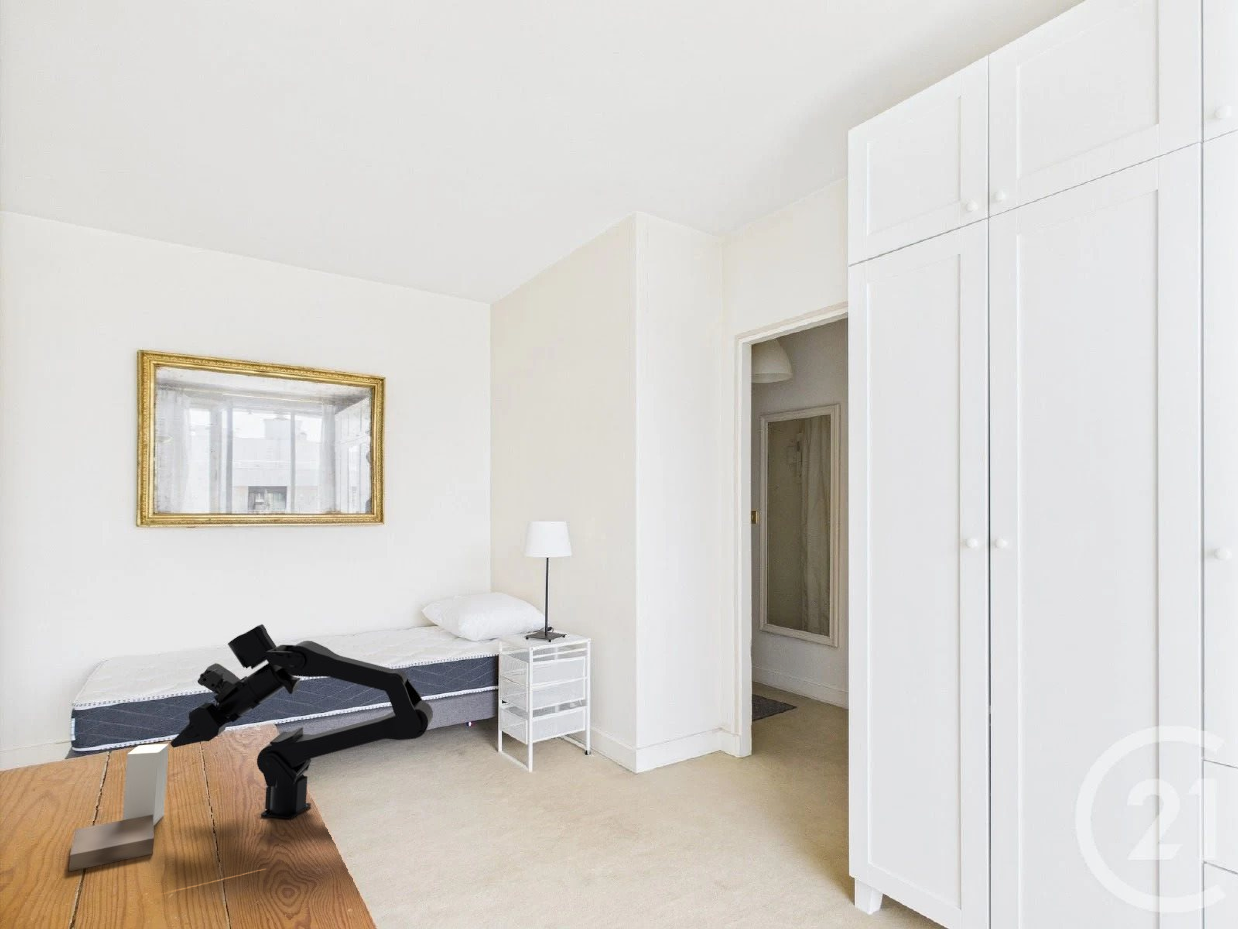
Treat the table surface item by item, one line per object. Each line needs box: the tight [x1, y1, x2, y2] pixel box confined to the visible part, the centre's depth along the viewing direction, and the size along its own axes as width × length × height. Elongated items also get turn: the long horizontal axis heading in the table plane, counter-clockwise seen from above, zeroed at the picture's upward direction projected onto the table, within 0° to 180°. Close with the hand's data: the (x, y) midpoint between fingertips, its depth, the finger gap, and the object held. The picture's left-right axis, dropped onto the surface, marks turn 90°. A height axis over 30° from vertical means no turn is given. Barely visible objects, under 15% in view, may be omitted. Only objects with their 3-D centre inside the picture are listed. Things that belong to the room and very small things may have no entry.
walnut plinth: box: [68, 815, 155, 872], centre depth 117 cm, size 11×11×2 cm
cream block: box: [121, 743, 170, 827], centre depth 128 cm, size 5×5×13 cm
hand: (183, 737), depth 131 cm, fingers open, 9 cm apart
